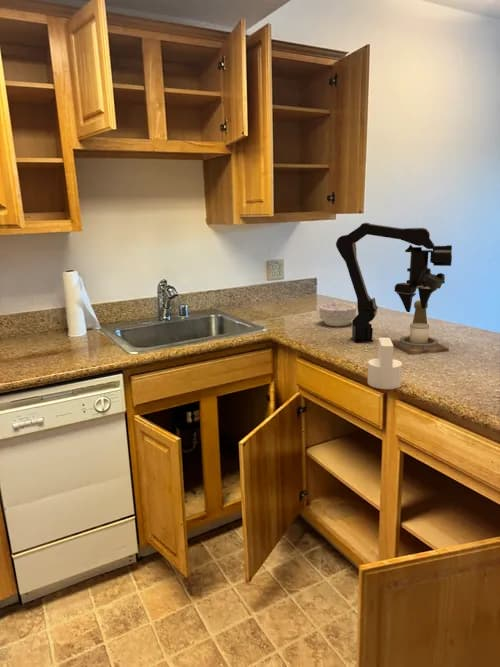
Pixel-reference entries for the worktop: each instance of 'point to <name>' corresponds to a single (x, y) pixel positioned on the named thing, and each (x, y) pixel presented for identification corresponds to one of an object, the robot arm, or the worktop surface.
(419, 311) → the brown pepper mill
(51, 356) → the worktop surface
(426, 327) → the cap
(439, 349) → the collar base
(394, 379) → the cylinder with rectangular tab
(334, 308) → the white bowl
